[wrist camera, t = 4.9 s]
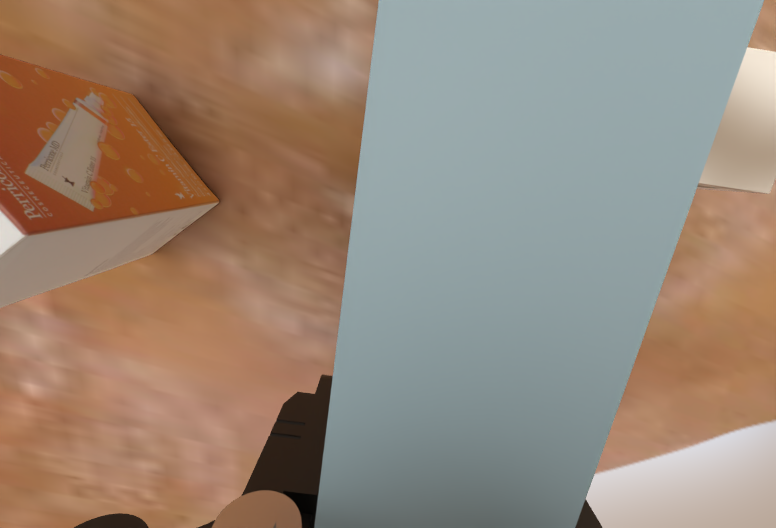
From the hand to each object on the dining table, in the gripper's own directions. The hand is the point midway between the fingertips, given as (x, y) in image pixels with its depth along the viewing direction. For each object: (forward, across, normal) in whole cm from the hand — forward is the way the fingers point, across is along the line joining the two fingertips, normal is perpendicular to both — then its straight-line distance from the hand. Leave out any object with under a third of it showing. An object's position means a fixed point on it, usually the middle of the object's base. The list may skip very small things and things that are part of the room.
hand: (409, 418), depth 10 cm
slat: (+1, 0, 0) cm, 1 cm away
